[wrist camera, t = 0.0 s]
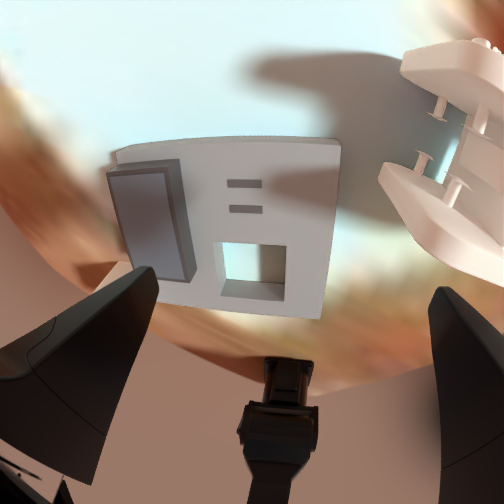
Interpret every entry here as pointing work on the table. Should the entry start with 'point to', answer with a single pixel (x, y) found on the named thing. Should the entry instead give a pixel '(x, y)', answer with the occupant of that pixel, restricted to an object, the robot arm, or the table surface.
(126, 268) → the block
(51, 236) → the table surface
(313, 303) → the outlet board
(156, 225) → the gray flat block
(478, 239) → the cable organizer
